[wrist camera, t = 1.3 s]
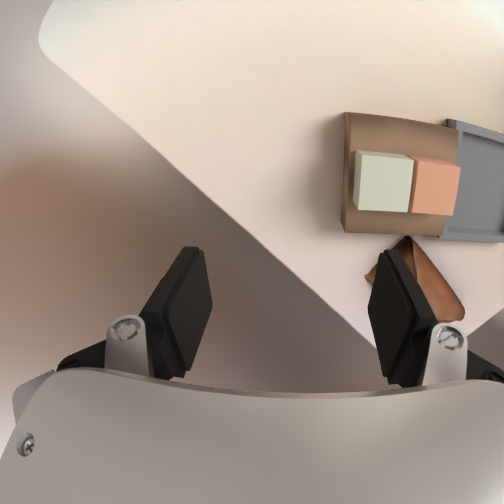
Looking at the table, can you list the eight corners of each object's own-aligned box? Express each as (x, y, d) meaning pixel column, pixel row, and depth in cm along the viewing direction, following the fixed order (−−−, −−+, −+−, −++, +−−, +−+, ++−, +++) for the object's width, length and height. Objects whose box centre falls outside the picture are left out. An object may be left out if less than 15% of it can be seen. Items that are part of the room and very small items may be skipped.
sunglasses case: (358, 277, 33) (390, 288, 27) (385, 232, 34) (419, 235, 27) (422, 335, 37) (450, 349, 31) (443, 298, 38) (472, 308, 31)
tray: (447, 118, 22) (456, 120, 20) (521, 142, 20) (530, 145, 18) (432, 231, 29) (439, 239, 27) (503, 236, 27) (511, 243, 25)
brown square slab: (344, 112, 24) (350, 113, 21) (445, 126, 22) (458, 130, 20) (340, 220, 30) (344, 232, 27) (432, 224, 28) (442, 235, 26)
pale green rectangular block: (355, 150, 23) (362, 155, 21) (403, 154, 22) (413, 160, 20) (352, 200, 26) (358, 209, 24) (398, 202, 25) (407, 212, 23)
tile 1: (408, 155, 22) (418, 160, 20) (448, 161, 22) (460, 167, 20) (402, 203, 25) (411, 212, 23) (441, 206, 24) (452, 215, 22)
